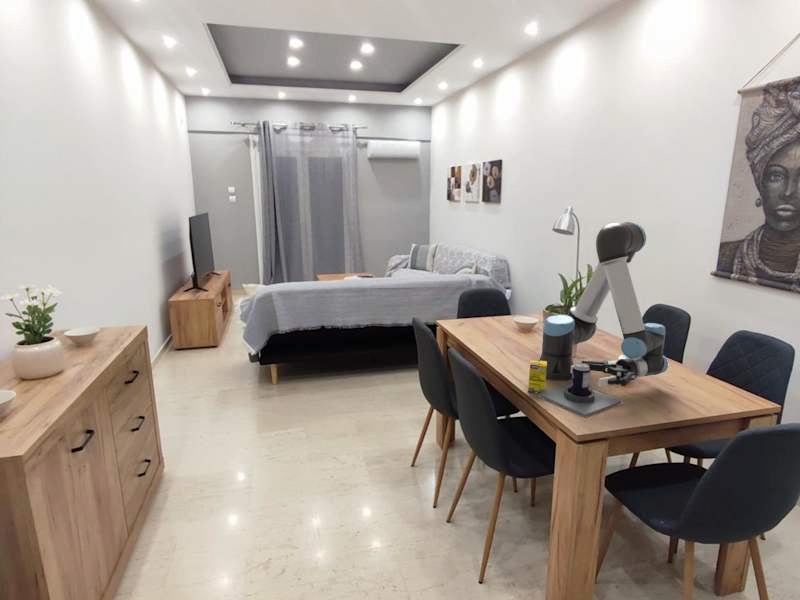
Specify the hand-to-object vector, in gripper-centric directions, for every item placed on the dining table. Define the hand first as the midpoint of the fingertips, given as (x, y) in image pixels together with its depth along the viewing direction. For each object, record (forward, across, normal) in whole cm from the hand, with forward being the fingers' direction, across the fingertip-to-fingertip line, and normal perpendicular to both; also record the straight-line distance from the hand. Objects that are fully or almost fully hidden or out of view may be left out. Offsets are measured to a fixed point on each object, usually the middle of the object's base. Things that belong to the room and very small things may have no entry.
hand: (584, 375), depth 165 cm
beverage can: (+1, +1, -8) cm, 8 cm away
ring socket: (+1, +1, -9) cm, 9 cm away
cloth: (-55, +25, -10) cm, 61 cm away
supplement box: (+10, +13, -9) cm, 19 cm away
